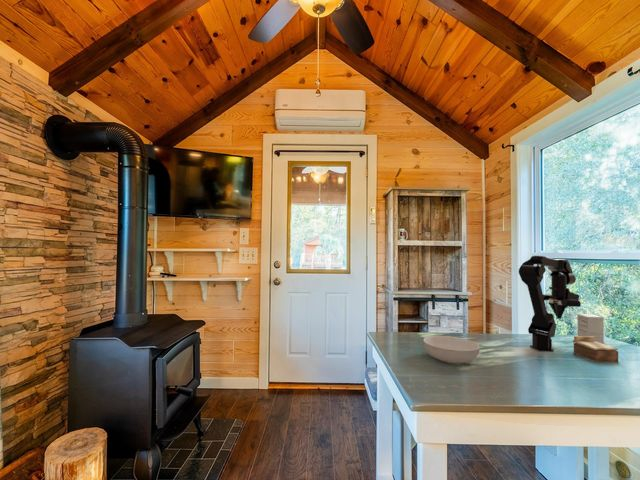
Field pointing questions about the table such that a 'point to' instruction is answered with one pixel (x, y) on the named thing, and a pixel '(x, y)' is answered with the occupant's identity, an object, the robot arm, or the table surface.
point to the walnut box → (596, 354)
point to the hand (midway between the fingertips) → (558, 318)
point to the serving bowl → (451, 349)
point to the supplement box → (591, 326)
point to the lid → (591, 343)
